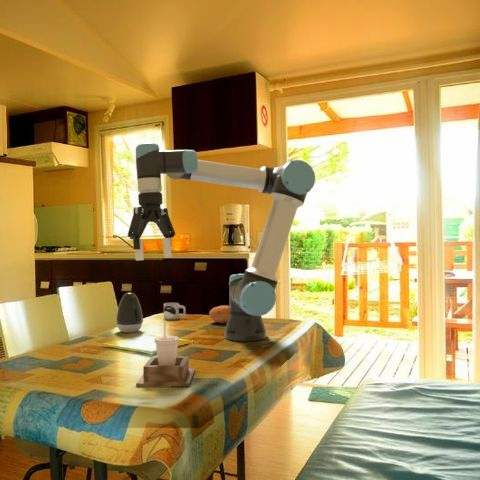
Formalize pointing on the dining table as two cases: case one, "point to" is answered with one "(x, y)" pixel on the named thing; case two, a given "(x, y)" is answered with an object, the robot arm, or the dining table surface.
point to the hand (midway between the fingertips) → (154, 259)
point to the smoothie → (166, 349)
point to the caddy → (166, 373)
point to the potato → (220, 314)
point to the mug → (173, 311)
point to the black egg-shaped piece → (129, 314)
